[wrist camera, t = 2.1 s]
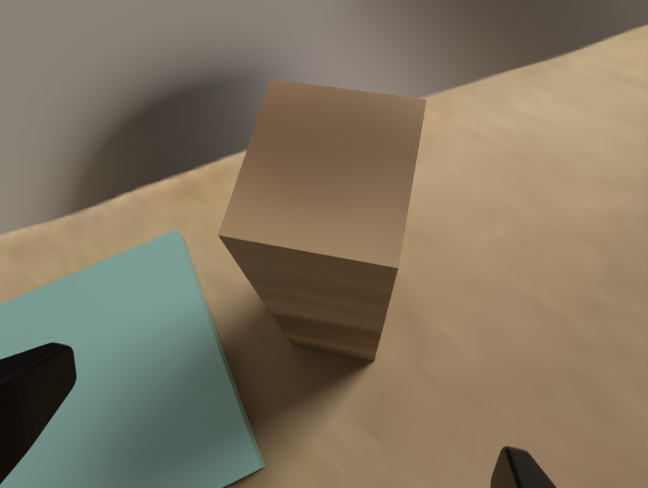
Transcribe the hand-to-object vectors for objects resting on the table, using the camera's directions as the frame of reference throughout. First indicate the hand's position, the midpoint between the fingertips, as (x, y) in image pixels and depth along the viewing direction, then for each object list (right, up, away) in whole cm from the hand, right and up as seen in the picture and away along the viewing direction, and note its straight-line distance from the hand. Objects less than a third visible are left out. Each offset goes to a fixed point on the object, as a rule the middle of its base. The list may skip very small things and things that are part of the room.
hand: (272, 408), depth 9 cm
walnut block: (+2, 0, +13) cm, 13 cm away
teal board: (-9, -4, +12) cm, 16 cm away
